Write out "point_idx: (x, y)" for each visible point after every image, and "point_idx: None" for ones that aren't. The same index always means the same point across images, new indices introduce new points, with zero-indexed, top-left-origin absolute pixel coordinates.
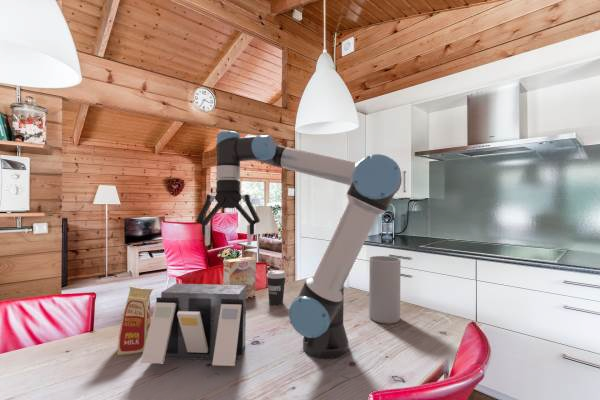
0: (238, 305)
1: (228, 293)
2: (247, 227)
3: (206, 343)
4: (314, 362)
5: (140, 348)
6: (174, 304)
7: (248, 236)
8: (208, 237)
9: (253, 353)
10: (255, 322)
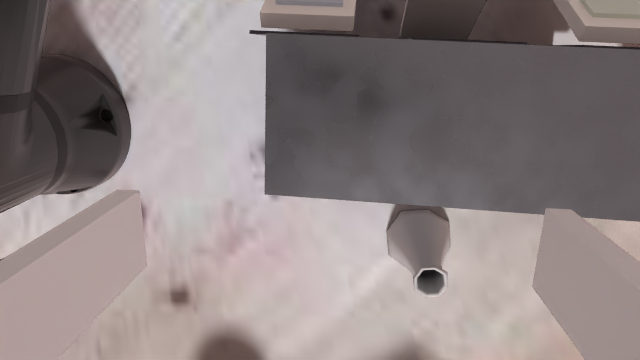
0: (271, 10)
1: (322, 43)
2: (5, 277)
3: (403, 17)
4: (89, 33)
5: None
6: (585, 22)
7: (74, 221)
8: (576, 279)
9: None
10: (300, 294)
